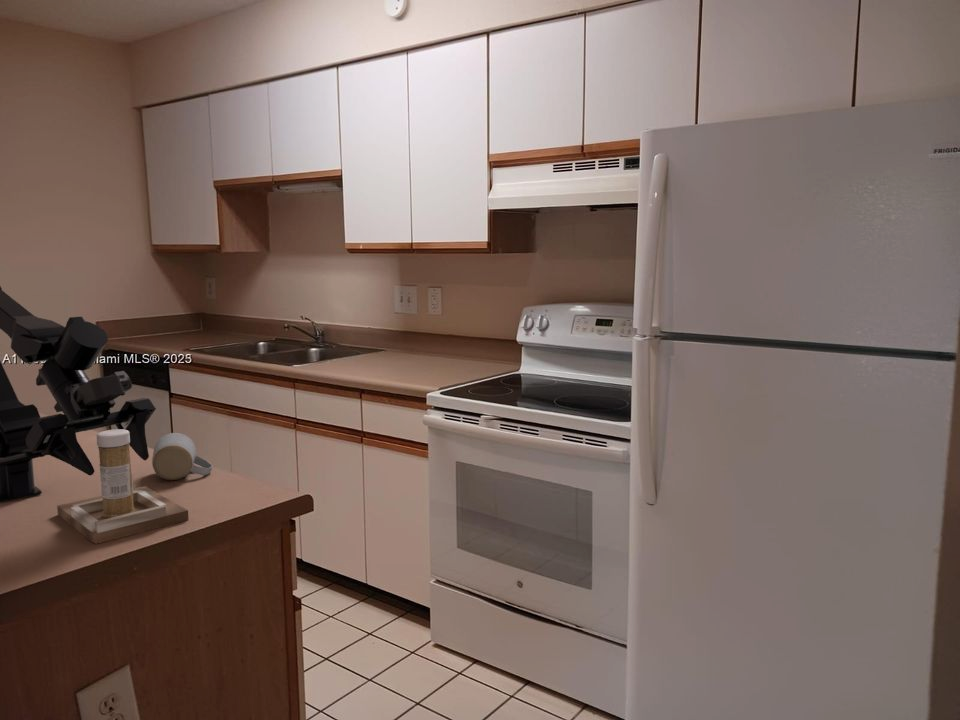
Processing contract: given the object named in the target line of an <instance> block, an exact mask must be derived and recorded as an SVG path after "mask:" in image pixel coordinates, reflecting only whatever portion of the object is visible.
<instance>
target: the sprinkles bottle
mask: <svg viewBox="0 0 960 720" xmlns="http://www.w3.org/2000/svg"><path fill="white" fill-rule="evenodd" d="M129 443H130V434H129V431H128V430H124V429H118V428H114V429H108V430H102V431H100V432H98V433H97V434H96V445H97V448H98V454H99V455H98V457H99V474H100V487H101V496H102V497H103V510H104V512H103V516H104V517H105V518H112V517H116V516H120V515H125V514H129V513H133V512H135V509H134V505H133V489H134V485H133V484H134V483H133V473H132V464H131V454H130V453H131V451H130V444H129Z"/></svg>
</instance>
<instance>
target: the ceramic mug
mask: <svg viewBox="0 0 960 720" xmlns="http://www.w3.org/2000/svg"><path fill="white" fill-rule="evenodd" d="M196 448H197V447H196V445H195V443H194V441H193V440H192V439H191V438H190V437H189V436H187V435H185V434H183V433H179V432H170V433H167V434H165V435H163V436H161V437H160V438H159V439H158V440H157V441H156V442H155V445H154V447H153V453H152V458H151V459H152V460H151V464H152V468H153V470H154V473H156V475H157V476H158V477H160V478H161V479H163V480H166V481H178V480H181V479H182V478H183V479H184V477H186V476H187V475H188V474H189V473H193V474H196V475H201V476H208V475H210V474H211V472H212V470H213V464H212V463H211V462H210V461H208V460H207V459H205V458H203V457H202V456H199V455H197V449H196Z"/></svg>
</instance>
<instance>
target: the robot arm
mask: <svg viewBox="0 0 960 720" xmlns="http://www.w3.org/2000/svg"><path fill="white" fill-rule="evenodd" d="M0 330H1V331H2V332H3V333H5V334H6V335H7V336H8V337H9V338H10V340H11V341H10V342H11V343H10V349H11V350H12V351H13V352H14V353H15V354H16V355H17V357H18V358H19V359H20V360H21V361H22V362H23V363H25V364H31V363H40V362H44V363H43V364H42V365H41V367H40V368H39V369H38V375H37V377H36V378H35V385H36V386H38V387H39V386H45V385H46V387H47V389H48V390H49V392H50V393H51V395H52V397H53V398H54V400H55V402H56V403H55V404H54V406H53V409H54V411H56V413H57V414H53V415H46V416H42V417H41V416H40V413H39V410H38V408H37V406H36V405H34V403H32V404H28V405H26V404H24V403H22V402H21V401H20V400H19V398H18V396H17V393H16V392H15V390H14V387H13V385H12V383H11V381H10V378H9V377H8V375H7V372H6V370H5V368H4V365H3V364H2V360H0V503H2V502H3V503H5V502H8V501H13V500H18V499H23V498H28V497H33V496H38V495H41V494H42V490H41V489H40V488H38V486H36V485H35V476H34V475H35V474H34V462H33V459H37V458H43V457H45V456H50V457H53V458H55V459H57V460H60V461H61V462H64V463H66V464H68V465H70V466H72V467H73V468H75V469H77V470H79V471H80V472H83V473H84V474H86V475H87V476H92V475H94V474H95V469H94V467H93V464H92V462H91V461H90V459H89V458H88V455H87V454H86V453H85V451H84V450H83V448H82V446H81V444H80V443H79V441H78V439H77V434H78V433H81V432H86V431H87V432H88V431H90V430H91V431H92V430H95V429H101V428H106V427H110V426H114V425H115V426H116V429H124V430H128V431H129V434H130V443H129V444H130V445H129V447H131V449H132V450H133V451H134V452H135V453H136V454H137V456H138V457H139V458H140V459H142V460H143V461H148V459H149V458H150V454H149V448H148V443H147V442H148V441H147V438H146V437H147V436H146V423H148V422H149V419H150V418H151V416H152V415H153V414H154V412H155V411H156V409H157V408H156V406H155V405H154V403H153V402H152V400H151V399H150V398H145V397H142V398H137V399H132V400H126V401H125V402H124V404H123V405H122V407H121V408H120V409H119V410H118V411H113V412H111V411H110V409H112V408H114V406H115V405H116V401H115V399H118V398H119V397H122V396H123V397H124V396H125V395H126V392H128V391H129V390H130V389H132V388H133V384H132V381H131V378H130V376H129V375H128V374H127V373H126V372H125V370H121V371H115V372H113V374H110V375H108V376H101V377H96V378H92V379H90V378H89V376H88V375H87V372H85V371H86V370H90V369H91V368H92V367H93V366H94V365H95V362H96V361H97V359H98V358H99V356H100V355H101V353H102V351H103V350H104V348H105V346H106V345H107V343H108V340H109V338H108V334H107V331H106V330H105V329H103V328H101V327H100V326H99V325H96V323H95V324H94V323H92V322H90V321H86V320H85V319H84V317H83V316H70V317H69V318H68V319H67V321H66V324H65V326H64V325H61V323H57V322H56V321H54V320H51V319H46V318H41V317H38V316H35V315H34V314H32V312H30V311H29V310H27V308H26V307H24V306H23V305H21V304H20V303H19V302H17V301H16V300H15V299H13V298H12V297H11V296H10V295H9V294H7V293H6V292H5V291H4V290H3V288H2V286H1V285H0ZM60 412H62V413H63V414H62V413H60Z"/></svg>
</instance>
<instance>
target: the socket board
mask: <svg viewBox="0 0 960 720" xmlns="http://www.w3.org/2000/svg"><path fill="white" fill-rule="evenodd" d="M133 505H134V509H135V512H133V513H129V514H125V515H120V516H116V517H112V518H105V517H104V516H103V512H104V510H103V497H102V495H99V496H94V497H90V498H86V499H85V498H84V499H80V500H76V501H72V502H67V503H62V504H58V505H56V506H57V507H56V509H57V516H58V517H60V518H61V519H63V520H64V521H65V522H66V523H67V524H69V525H70V527H72V528H74V529H75V530H76V531H77V532H79V533H80V534H81V533H82V534H81V535H83V536H84V537H85V538H86V539H87V540H89V541H90V540H91V541H92V542H91V541H90V542H91V543H92V544H94V543H95V544H94V545H98V544H97V543H99V544H101V543H102V542H103V543H106V542H110V541H113V539H114V540H117V539H116V538H118V539H121V538H120V537H122V538H124V536H125V537H128V536H127V535H129V536H132V535H131V534H133V535H137V534H139V532H141V533H144V532H148V531H152V530H155V529H159V527H160V528H163V527H166V526H170V524H171V525H174V524H175V525H176V524H179V523H181V522H182V523H183V522H185V520H186V521H189V510H188V509H186V508H185V507H183V506H181V505H179V504H178V503H176V502H174V501H172V500H170V498H167V497H165V496H163V495H161V493H158V492H156V491H154V490H153V489H151V488H149V487H147V486H146V485H145V486H140V487H136V488H133ZM178 522H179V523H178ZM151 529H152V530H151ZM147 530H148V531H147ZM143 531H144V532H143ZM136 533H137V534H136ZM105 541H106V542H105Z"/></svg>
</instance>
